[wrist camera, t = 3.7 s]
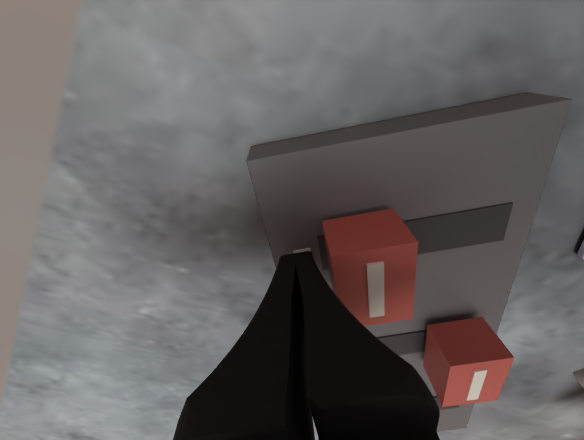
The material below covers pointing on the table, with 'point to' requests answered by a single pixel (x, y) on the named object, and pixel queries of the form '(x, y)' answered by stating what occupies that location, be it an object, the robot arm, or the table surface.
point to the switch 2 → (465, 361)
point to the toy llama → (580, 377)
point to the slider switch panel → (422, 204)
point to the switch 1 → (372, 265)
